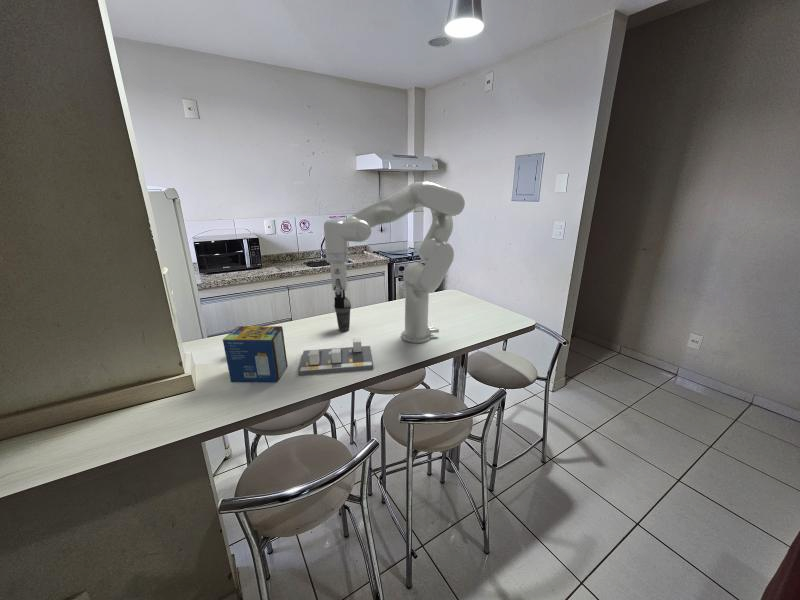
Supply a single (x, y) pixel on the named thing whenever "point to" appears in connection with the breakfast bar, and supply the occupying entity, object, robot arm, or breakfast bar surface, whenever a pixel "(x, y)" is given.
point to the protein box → (255, 354)
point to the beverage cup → (343, 316)
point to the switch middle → (336, 355)
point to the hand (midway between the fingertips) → (340, 303)
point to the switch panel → (348, 363)
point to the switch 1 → (314, 357)
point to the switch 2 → (357, 345)
